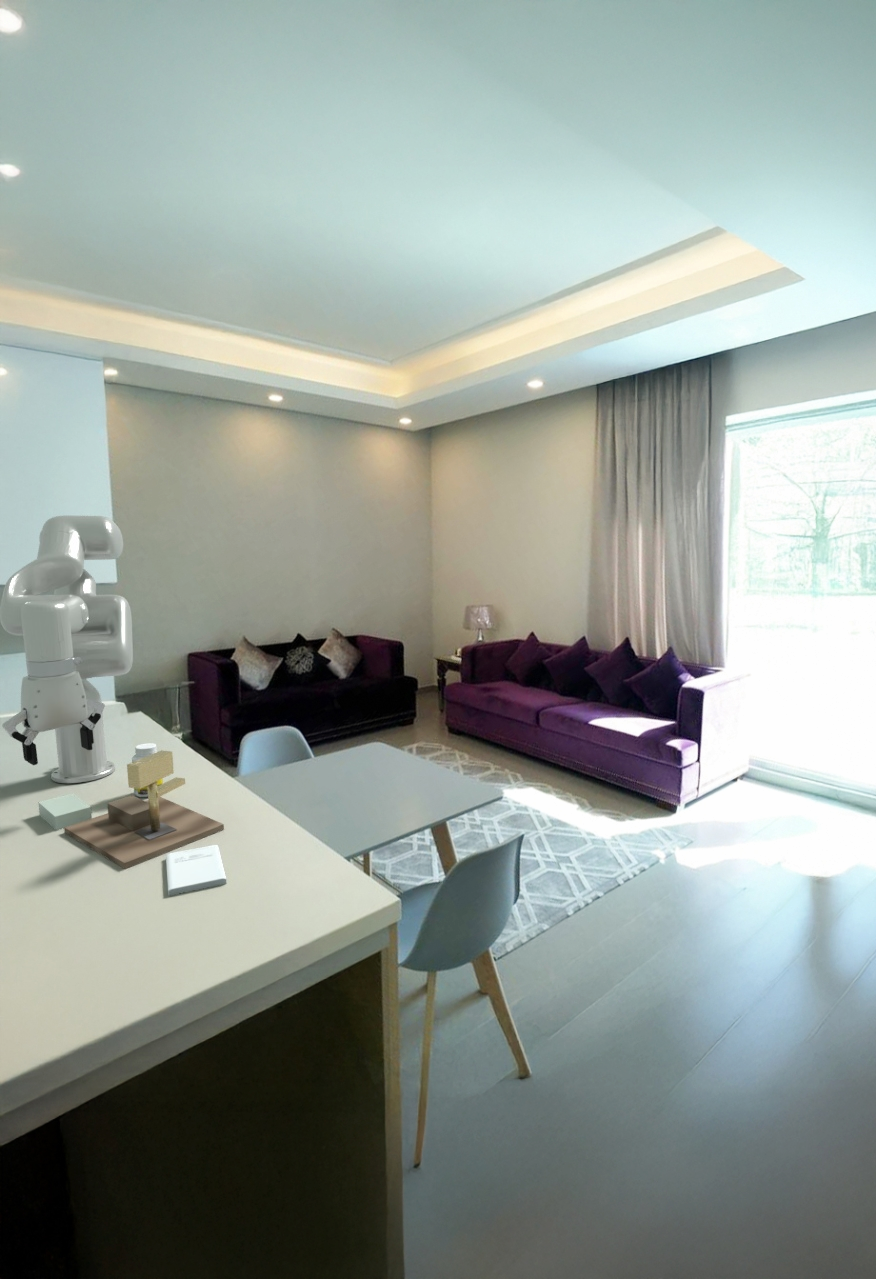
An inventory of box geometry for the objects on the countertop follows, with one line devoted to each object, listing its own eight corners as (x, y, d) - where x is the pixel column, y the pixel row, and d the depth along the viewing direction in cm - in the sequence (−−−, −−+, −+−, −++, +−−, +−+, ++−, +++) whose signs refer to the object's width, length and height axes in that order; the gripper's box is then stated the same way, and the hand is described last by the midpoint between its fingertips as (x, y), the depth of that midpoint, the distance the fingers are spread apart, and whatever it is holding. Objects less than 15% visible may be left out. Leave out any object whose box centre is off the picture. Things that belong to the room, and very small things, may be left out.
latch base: (64, 832, 115) (62, 811, 115) (159, 801, 129) (158, 782, 129) (125, 869, 102) (123, 845, 101) (223, 829, 116) (222, 808, 115)
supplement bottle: (136, 800, 130) (133, 751, 129) (132, 791, 135) (128, 744, 133) (166, 794, 133) (162, 746, 132) (160, 786, 138) (157, 740, 136)
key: (177, 812, 120) (173, 745, 118) (188, 813, 119) (183, 746, 117) (132, 837, 110) (126, 764, 108) (144, 839, 109) (138, 766, 107)
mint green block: (39, 817, 123) (38, 802, 123) (73, 807, 128) (72, 793, 127) (56, 832, 116) (55, 816, 116) (92, 822, 121) (90, 806, 120)
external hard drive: (168, 900, 94) (166, 862, 105) (227, 887, 97) (218, 852, 109) (167, 889, 94) (165, 853, 105) (226, 877, 97) (218, 843, 108)
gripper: (90, 657, 127) (98, 739, 130) (-11, 673, 114) (0, 764, 117) (108, 662, 122) (116, 747, 126) (5, 679, 109) (17, 774, 112)
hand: (60, 755), depth 121 cm, fingers open, 9 cm apart
